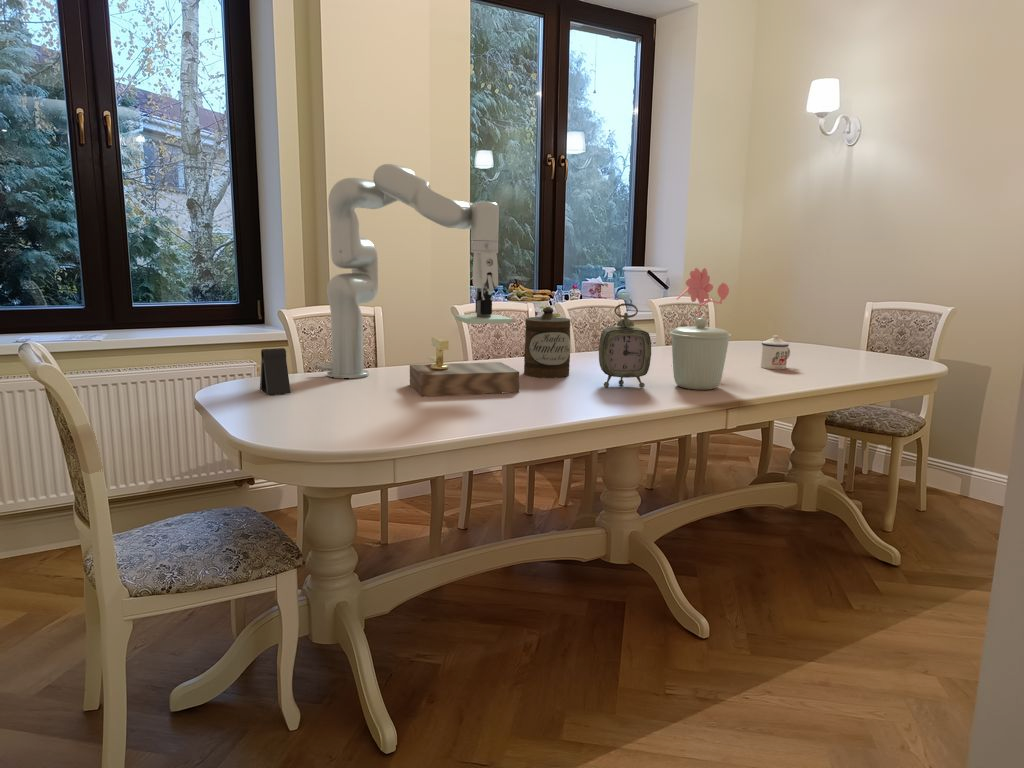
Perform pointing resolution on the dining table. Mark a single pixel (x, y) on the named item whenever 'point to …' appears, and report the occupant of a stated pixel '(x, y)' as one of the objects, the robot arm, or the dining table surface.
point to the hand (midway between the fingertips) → (483, 313)
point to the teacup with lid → (774, 353)
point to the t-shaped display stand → (439, 353)
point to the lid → (483, 318)
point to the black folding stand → (274, 372)
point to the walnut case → (464, 379)
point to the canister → (699, 355)
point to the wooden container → (547, 345)
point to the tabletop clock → (625, 350)
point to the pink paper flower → (703, 288)
